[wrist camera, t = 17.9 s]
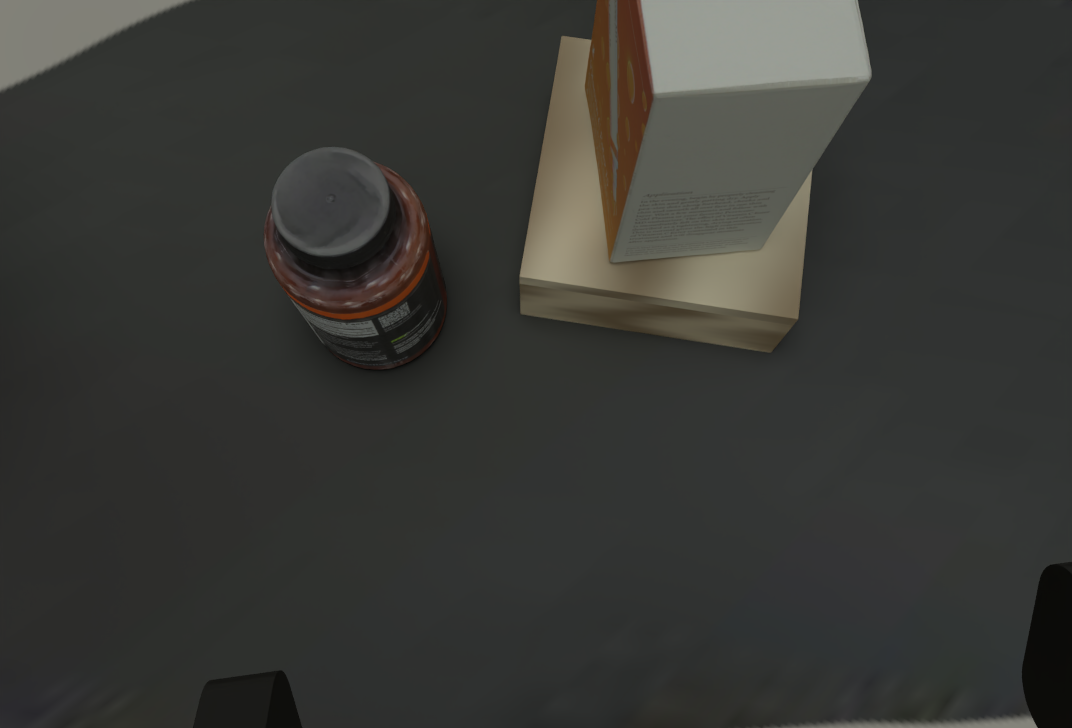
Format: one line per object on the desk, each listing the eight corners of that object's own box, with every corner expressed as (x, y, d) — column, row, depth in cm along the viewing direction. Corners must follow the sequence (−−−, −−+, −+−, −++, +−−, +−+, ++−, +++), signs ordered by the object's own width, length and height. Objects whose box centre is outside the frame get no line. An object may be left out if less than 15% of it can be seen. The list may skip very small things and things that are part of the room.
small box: (581, 86, 42) (613, -153, 29) (731, 74, 42) (827, -167, 30) (605, 268, 40) (651, 95, 27) (763, 254, 40) (881, 77, 28)
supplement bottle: (355, 224, 45) (300, 88, 34) (472, 280, 45) (453, 160, 34) (286, 337, 44) (206, 232, 33) (406, 397, 43) (365, 311, 32)
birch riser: (520, 316, 45) (519, 276, 40) (558, 98, 48) (561, 36, 43) (768, 355, 44) (798, 319, 39) (791, 131, 47) (821, 73, 42)
